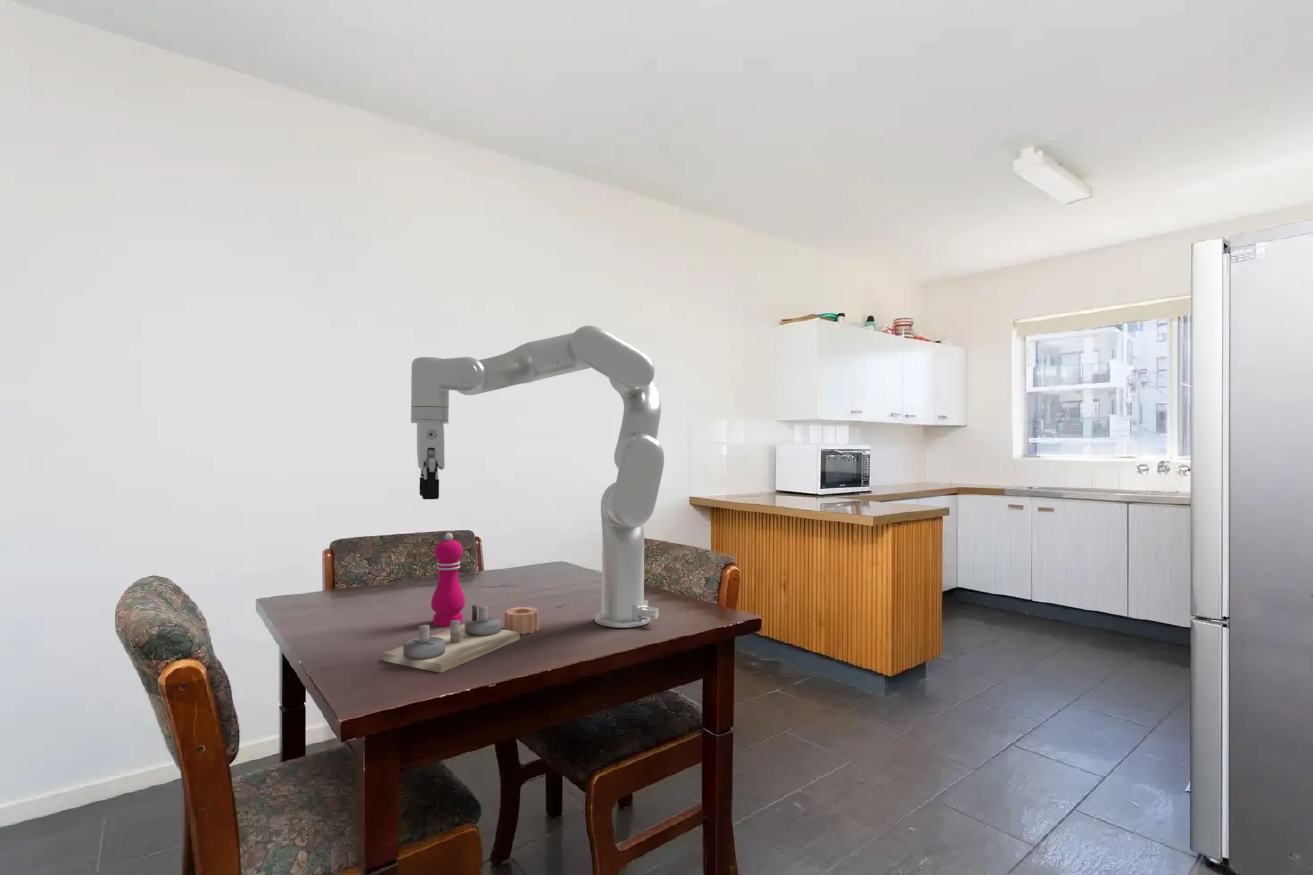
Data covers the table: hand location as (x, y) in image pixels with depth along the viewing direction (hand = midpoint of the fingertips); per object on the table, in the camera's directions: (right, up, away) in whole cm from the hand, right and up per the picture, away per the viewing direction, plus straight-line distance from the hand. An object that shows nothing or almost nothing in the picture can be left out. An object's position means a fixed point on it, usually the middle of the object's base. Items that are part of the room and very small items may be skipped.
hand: (428, 497), depth 138 cm
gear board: (+9, -29, -11) cm, 32 cm away
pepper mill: (+2, -29, +8) cm, 30 cm away
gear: (+19, -29, +3) cm, 35 cm away
